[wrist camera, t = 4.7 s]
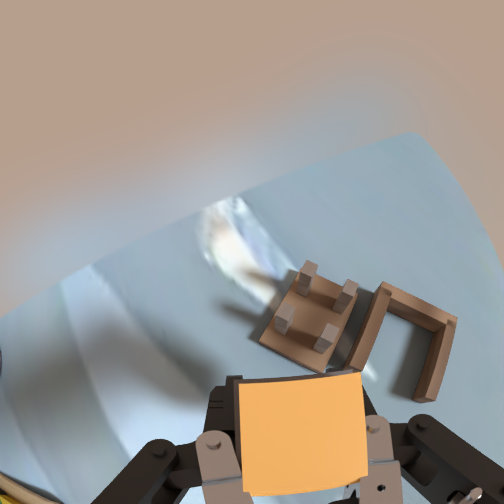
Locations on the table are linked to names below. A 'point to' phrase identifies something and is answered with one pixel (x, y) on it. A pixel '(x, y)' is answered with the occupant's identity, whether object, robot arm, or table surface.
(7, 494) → the wooden puzzle
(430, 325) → the end holder
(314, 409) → the grey orange block
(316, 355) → the four-pronged plate
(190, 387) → the table surface
